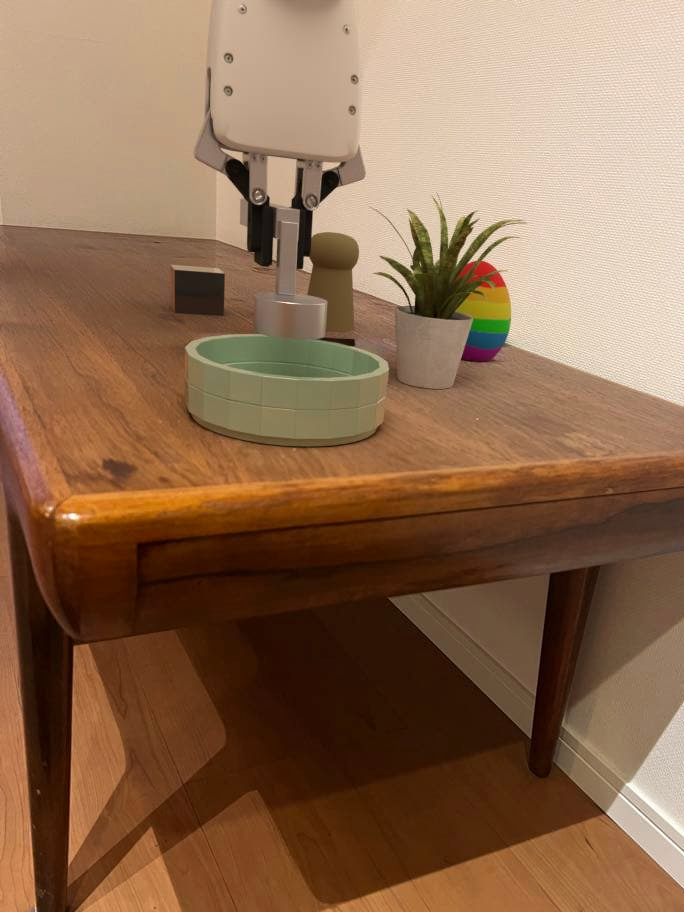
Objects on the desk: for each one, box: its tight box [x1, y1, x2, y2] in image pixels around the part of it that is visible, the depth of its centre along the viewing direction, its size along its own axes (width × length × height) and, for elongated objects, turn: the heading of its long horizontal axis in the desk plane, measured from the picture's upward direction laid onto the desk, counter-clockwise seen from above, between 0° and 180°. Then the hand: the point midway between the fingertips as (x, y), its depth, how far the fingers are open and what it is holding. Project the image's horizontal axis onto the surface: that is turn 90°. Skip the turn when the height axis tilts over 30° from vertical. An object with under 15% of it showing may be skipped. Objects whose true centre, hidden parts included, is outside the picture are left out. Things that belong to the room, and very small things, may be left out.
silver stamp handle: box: [239, 198, 327, 340], centre depth 59 cm, size 18×5×8 cm, turn 21°
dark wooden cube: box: [169, 264, 226, 317], centre depth 82 cm, size 5×4×6 cm
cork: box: [306, 231, 360, 347], centre depth 82 cm, size 6×6×11 cm
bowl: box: [184, 333, 390, 447], centre depth 56 cm, size 14×14×4 cm
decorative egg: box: [455, 260, 512, 362], centre depth 84 cm, size 8×8×10 cm
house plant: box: [366, 193, 526, 390], centre depth 69 cm, size 14×14×16 cm
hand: (278, 263), depth 57 cm, fingers closed on silver stamp handle
